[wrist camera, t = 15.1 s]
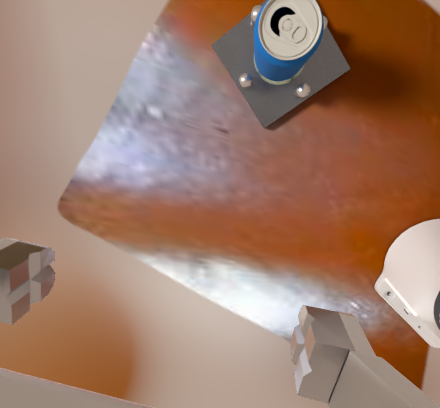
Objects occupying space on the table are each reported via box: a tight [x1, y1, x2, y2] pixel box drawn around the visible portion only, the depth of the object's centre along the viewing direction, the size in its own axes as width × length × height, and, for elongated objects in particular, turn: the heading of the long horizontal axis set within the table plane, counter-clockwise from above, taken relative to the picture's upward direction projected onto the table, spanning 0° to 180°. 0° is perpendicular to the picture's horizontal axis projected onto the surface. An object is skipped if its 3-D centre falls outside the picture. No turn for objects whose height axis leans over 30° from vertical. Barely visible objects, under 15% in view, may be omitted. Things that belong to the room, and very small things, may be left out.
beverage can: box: [254, 0, 324, 81], centre depth 31 cm, size 6×6×12 cm
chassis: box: [212, 0, 350, 128], centre depth 36 cm, size 13×13×4 cm
